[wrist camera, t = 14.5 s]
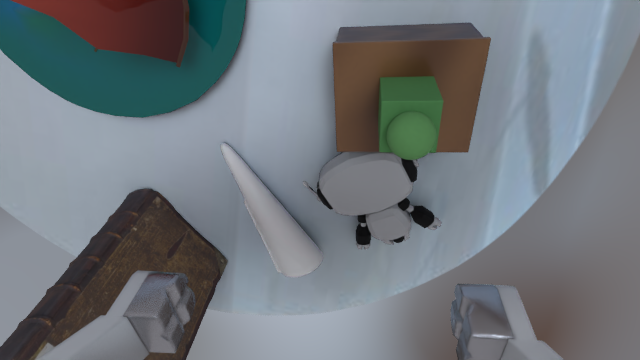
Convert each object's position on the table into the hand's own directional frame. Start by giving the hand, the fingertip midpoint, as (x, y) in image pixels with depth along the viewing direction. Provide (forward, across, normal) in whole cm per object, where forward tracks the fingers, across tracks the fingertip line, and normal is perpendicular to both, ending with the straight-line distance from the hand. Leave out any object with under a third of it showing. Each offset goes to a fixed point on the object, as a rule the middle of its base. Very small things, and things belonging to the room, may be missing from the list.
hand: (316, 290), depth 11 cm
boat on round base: (+30, +23, -7) cm, 39 cm away
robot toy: (+30, -3, +19) cm, 36 cm away
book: (+30, +26, +26) cm, 48 cm away
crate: (+30, -5, +5) cm, 31 cm away
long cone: (+30, +10, +20) cm, 38 cm away
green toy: (+24, -5, +5) cm, 25 cm away
